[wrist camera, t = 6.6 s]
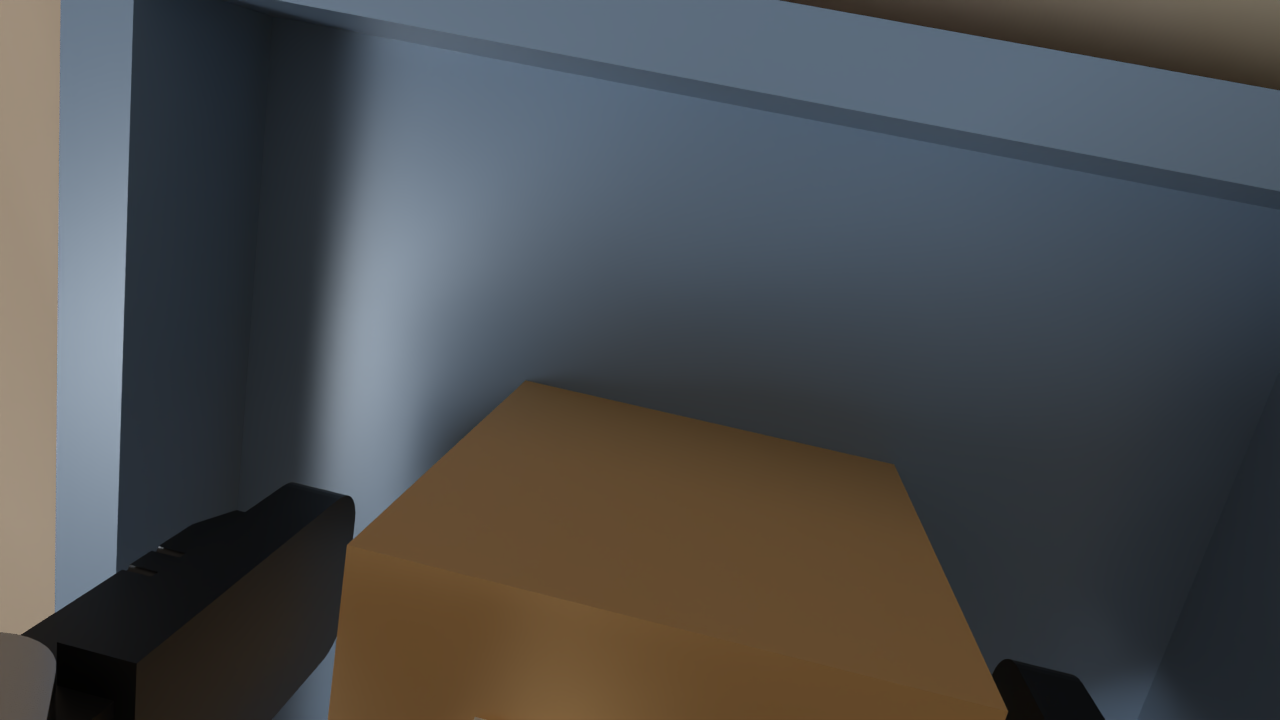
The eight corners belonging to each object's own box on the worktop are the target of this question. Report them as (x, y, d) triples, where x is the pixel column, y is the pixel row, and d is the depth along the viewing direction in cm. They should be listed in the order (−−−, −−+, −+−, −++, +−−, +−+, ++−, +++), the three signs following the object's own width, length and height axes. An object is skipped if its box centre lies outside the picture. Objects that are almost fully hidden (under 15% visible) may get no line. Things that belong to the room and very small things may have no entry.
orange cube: (894, 464, 11) (1014, 725, 6) (802, 779, 12) (834, 1219, 7) (525, 380, 11) (337, 554, 6) (475, 692, 12) (284, 1045, 7)
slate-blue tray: (1405, 163, 10) (1685, 163, 7) (1021, 1072, 13) (1096, 1325, 10) (247, -50, 11) (61, -129, 8) (192, 831, 15) (51, 997, 12)
